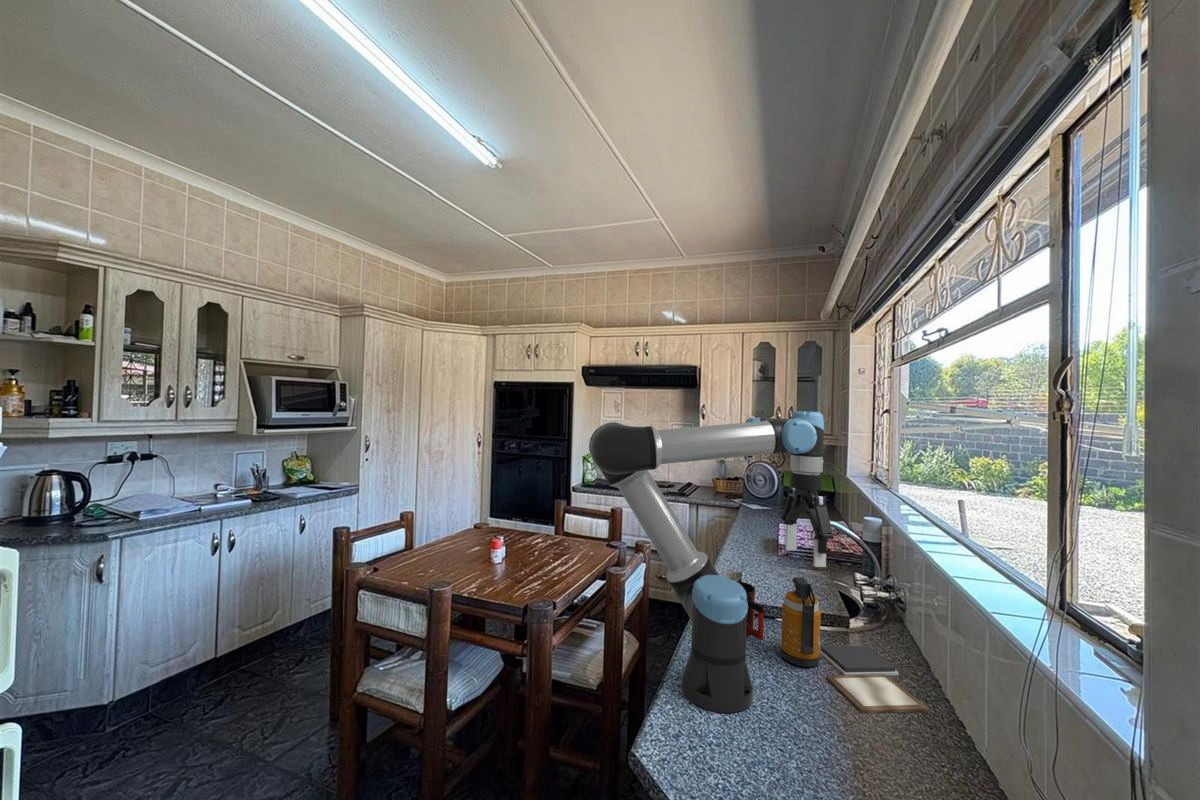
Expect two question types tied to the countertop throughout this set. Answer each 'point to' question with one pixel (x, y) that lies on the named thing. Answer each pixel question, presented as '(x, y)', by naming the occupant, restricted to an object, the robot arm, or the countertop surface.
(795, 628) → the canister
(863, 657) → the ink pad
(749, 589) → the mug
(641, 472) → the robot arm
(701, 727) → the countertop surface
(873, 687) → the box board
